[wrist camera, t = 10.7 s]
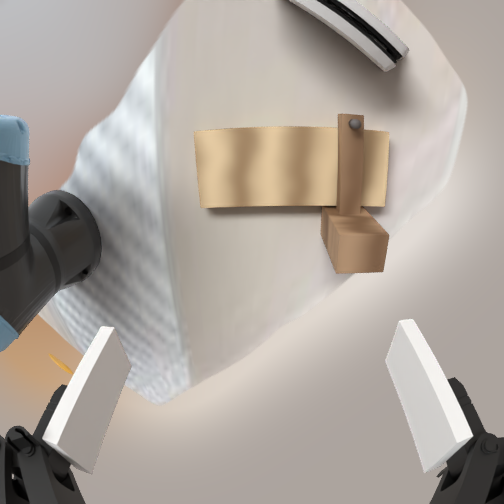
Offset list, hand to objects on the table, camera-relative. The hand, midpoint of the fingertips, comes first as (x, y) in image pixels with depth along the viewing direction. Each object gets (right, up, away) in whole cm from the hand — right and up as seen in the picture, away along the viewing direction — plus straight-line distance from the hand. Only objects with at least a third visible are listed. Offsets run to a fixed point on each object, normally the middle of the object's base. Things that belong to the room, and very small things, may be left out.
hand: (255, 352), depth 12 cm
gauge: (+11, +13, +20) cm, 27 cm away
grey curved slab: (+10, +31, +12) cm, 35 cm away
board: (+5, +15, +20) cm, 25 cm away
